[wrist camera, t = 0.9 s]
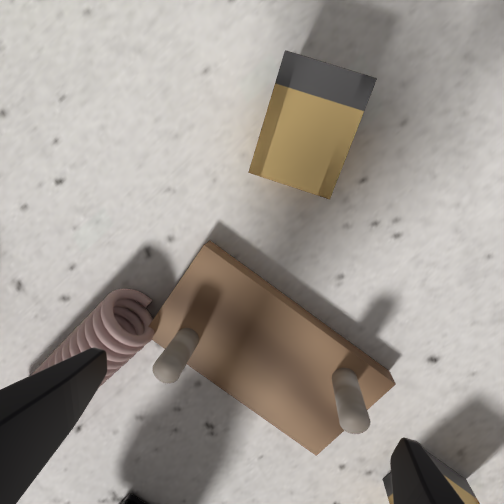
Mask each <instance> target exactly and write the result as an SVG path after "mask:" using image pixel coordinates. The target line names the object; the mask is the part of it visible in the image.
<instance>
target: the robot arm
mask: <svg viewBox="0 0 504 504" xmlns="http://www.w3.org/2000/svg"><path fill="white" fill-rule="evenodd" d="M106 373H107V353H106V351H105V350H103V349H99V348H95V347H93V348H90V349H87V350H85V351H83V352H81V353H79V354H77V355H74V356H72V357H70V358H68V359H66V360H64V361H61V362H59V363H57V364H55V365H53V366H51V367H48V368H46V369H44V370H42V371H40V372H38V373H35V374H33V375H31V376H29V377H27V378H25V379H22V380H20V381H18V382H16V383H14V384H11V385H9V386H7V387H5V388H3V389H1V390H0V504H16V503H17V502H18V500H19V499H20V498H21V496H22V495H23V494H24V492H25V491H26V490H27V488H28V487H29V486H30V484H31V483H32V482H33V480H34V479H35V478H36V476H37V475H38V474H39V473H40V471H41V470H42V469H43V467H44V466H45V465H46V463H47V462H48V461H49V459H50V458H51V457H52V455H53V454H54V453H55V451H56V450H57V449H58V447H59V446H60V445H61V443H62V442H63V441H64V439H65V438H66V437H67V435H68V434H69V433H70V431H71V430H72V429H73V427H74V426H75V424H76V423H77V421H78V420H79V418H80V417H81V415H82V413H83V412H84V410H85V409H86V407H87V405H88V404H89V402H90V401H91V399H92V397H93V396H94V394H95V392H96V391H97V389H98V388H99V386H100V384H101V383H102V381H103V380H104V378H105V376H106ZM390 464H391V477H392V490H393V502H394V504H465V503H464V502H463V500H462V499H461V498H460V496H459V495H458V494H457V492H456V491H455V490H454V488H453V487H452V486H451V484H450V483H449V482H448V480H447V479H446V478H445V476H444V475H443V473H442V472H441V471H440V469H439V468H438V467H437V465H436V464H435V463H434V461H433V460H432V459H431V457H430V456H429V455H428V453H427V452H426V451H425V449H424V448H423V447H422V445H421V444H420V443H419V442H417V441H415V440H411V439H408V438H402V439H401V440H400V441H399V443H398V445H397V446H396V448H395V450H394V452H393V454H392V456H391V463H390ZM121 504H146V503H144V502H143V501H141V500H140V499H138V498H137V497H136V496H134V495H131V494H130V495H128V496H127V497H126V498H125V499H124V501H123V502H122V503H121Z"/></svg>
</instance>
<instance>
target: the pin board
mask: <svg viewBox="0 0 504 504" xmlns="http://www.w3.org/2000/svg"><path fill="white" fill-rule="evenodd" d="M148 327H150V328H152V329H153V330H154V332H155V333H154V336H153V338H152V340H153V341H155V342H156V343H158V344H159V345H160V346H162V347H163V348H165V350H164V351H163V353H162V354H161V355H160V357H159V358H158V359H157V361H156V362H155V363H154V365H153V373H154V375H155V377H156V378H157V379H158V380H159V381H161V382H163V383H173V382H175V381H177V379H178V378H179V376H180V374H181V373H182V371H183V369H184V367H185V366H186V364H187V365H189V366H190V367H192V368H193V369H194V370H196V371H197V372H199V373H200V374H201V375H203V376H204V377H206V378H207V379H208V380H210V381H211V382H213V383H214V384H216V385H217V386H218V387H220V388H221V389H223V390H224V391H225V392H227V393H228V394H230V395H231V396H233V397H234V398H235V399H237V400H238V401H240V402H241V403H242V404H244V405H245V406H247V407H248V408H250V409H251V410H252V411H254V412H255V413H257V414H258V415H259V416H261V417H262V418H264V419H265V420H267V421H268V422H269V423H271V424H272V425H274V426H275V427H276V428H278V429H279V430H281V431H282V432H283V433H285V434H286V435H288V436H289V437H291V438H292V439H293V440H295V441H296V442H298V443H299V444H300V445H302V446H303V447H305V448H306V449H308V450H309V451H310V452H312V453H313V454H315V455H318V454H319V453H320V452H321V451H322V450H323V449H324V448H325V447H327V446H328V445H329V444H330V443H331V442H332V441H333V440H334V439H335V438H337V437H338V436H339V435H340V434H341V433H342V432H343V431H344V430H345V431H346V432H348V433H352V434H360V433H363V432H365V431H366V430H367V429H368V428H369V426H370V419H369V415H368V412H367V410H368V409H369V408H370V407H371V406H372V405H373V404H374V403H375V402H377V401H378V400H379V399H380V398H381V397H382V396H383V395H384V394H386V393H387V392H388V391H389V390H390V389H391V388H392V387H393V386H394V385H396V384H395V382H394V380H393V378H392V375H391V373H390V371H389V370H387V369H386V368H384V367H383V366H382V365H380V364H379V363H378V362H376V361H375V360H374V359H372V358H371V357H369V356H368V355H367V354H365V353H364V352H363V351H361V350H360V349H358V348H357V347H356V346H354V345H353V344H352V343H350V342H349V341H347V340H346V339H345V338H343V337H342V336H341V335H339V334H338V333H336V332H335V331H334V330H332V329H331V328H330V327H328V326H327V325H325V324H324V323H323V322H321V321H320V320H319V319H317V318H316V317H314V316H313V315H312V314H310V313H309V312H308V311H306V310H305V309H303V308H302V307H301V306H299V305H298V304H297V303H295V302H294V301H293V300H291V299H290V298H288V297H287V296H286V295H284V294H283V293H282V292H280V291H279V290H277V289H276V288H275V287H273V286H272V285H271V284H269V283H268V282H266V281H265V280H264V279H262V278H261V277H260V276H258V275H257V274H255V273H254V272H253V271H251V270H250V269H249V268H247V267H246V266H244V265H243V264H242V263H240V262H239V261H238V260H236V259H235V258H233V257H232V256H231V255H229V254H228V253H227V252H225V251H224V250H223V249H221V248H220V247H218V246H217V245H216V244H214V243H213V242H212V241H209V242H207V243H206V244H205V245H204V246H203V247H202V249H201V250H200V252H199V253H198V255H197V256H196V258H195V259H194V260H193V262H192V263H191V265H190V266H189V268H188V269H187V271H186V272H185V274H184V275H183V277H182V278H181V280H180V281H179V282H178V284H177V285H176V287H175V288H174V290H173V291H172V293H171V294H170V296H169V297H168V299H167V300H166V301H165V303H164V304H163V306H162V307H161V309H160V310H159V312H158V313H157V315H156V316H155V318H154V319H153V321H152V322H151V323H150V325H149V326H148Z"/></svg>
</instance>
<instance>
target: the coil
mask: <svg viewBox="0 0 504 504" xmlns="http://www.w3.org/2000/svg"><path fill="white" fill-rule="evenodd" d="M136 301H137V302H136ZM151 302H152V300H151V299H150V298H149V297H148V296H146V295H145V294H143V293H141V292H139V291H136V290H132V289H117V290H114V291H112V292H111V293H109V294H108V295H107V296H106V297H105V299H104V300H103V301H102V302H100V303H99V304H98V305H97V307H96V308H95V309H94V310H93V311H92V312H91V313H90V314H89V315H88V317H86V318H85V319H84V320H83V321H82V322H81V324H80V325H79V326H77V327H76V328H75V330H74V331H73V332H72V333H71V334H70V335H69V336H68V337H67V338H66V339H65V340H64V341H63V342H62V343H61V344H60V346H59V347H57V348H56V349H55V350H54V351H53V353H52V354H51V355H49V357H48V358H47V359H46V360H45V361H44V362H43V363H42V364H41V365H40V366H39V367H38V368H37V369H36V370H35V371H34V372H33V374H35V373H38V372H40V371H42V370H44V369H46V368H48V367H51V366H53V365H55V364H57V363H59V362H61V361H64V360H66V359H68V358H70V357H72V356H74V355H77V354H79V353H81V352H83V351H85V350H87V349H90V348H93V347H95V348H99V349H103V350H105V351H106V353H107V373H106V376H105V378H104V380H103V381H102V383H101V384H100V386H101V385H102V384H104V383H105V381H106V380H107V379H109V378H110V377H111V376H112V375H113V374H114V373H115V372H117V371H118V370H119V369H120V368H121V366H123V365H124V364H126V363H127V362H128V360H129V359H131V358H132V357H133V356H134V355H135V354H136V353H137V352H138V351H140V350H141V349H142V348H143V347H144V345H146V344H147V343H149V342H150V341H151V340H152V338H153V336H154V333H155V332H154V330H153V329H152V328H150V327H148V326H149V325H150V323H151V322H152V321H153V319H152V316H151V315H150V313H149V312H148V311H147V310H146V307H147V306H148V305H149V304H150V303H151ZM142 305H143V306H144V307H143V306H142ZM131 323H132V324H131ZM33 374H31V375H33ZM31 375H30V376H31ZM100 386H99V387H100Z"/></svg>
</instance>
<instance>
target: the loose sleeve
mask: <svg viewBox="0 0 504 504" xmlns="http://www.w3.org/2000/svg"><path fill="white" fill-rule="evenodd" d="M425 451H426V450H425ZM426 452H427V451H426ZM427 453H428V452H427ZM428 455H429V456H430V457H431V459H432V460H433V461H434V463H435V464H436V465H437V467H438V468H439V469H440V471H441V472H442V473H443V475H444V476H445V478H446V479H447V480H448V482H449V483H450V484H451V486H452V487H453V488H454V490H455V491H456V492H457V494H458V495H459V496H460V498H461V499H462V500H463V502H464V503H465V504H480V503H479V502H478V500H477V498H476V496H475V494H474V493H473V491H472V489H471V487H470V485H469V484H468V482H467V480H466V479H465V478H463V477H462V476H460V475H459V474H458V473H456V472H455V471H453V470H452V469H451V468H449V467H448V466H446V465H445V464H444V463H442V462H441V461H440V460H438V459H437V458H435V457H434V456H433V455H431V454H430V453H428ZM383 482H384V486H385V489H386V492H387V496H388V499H389V503H390V504H394V502H393V490H392V477H391V473H390V474H389V475H387V476H386V477H385V478H383Z"/></svg>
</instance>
